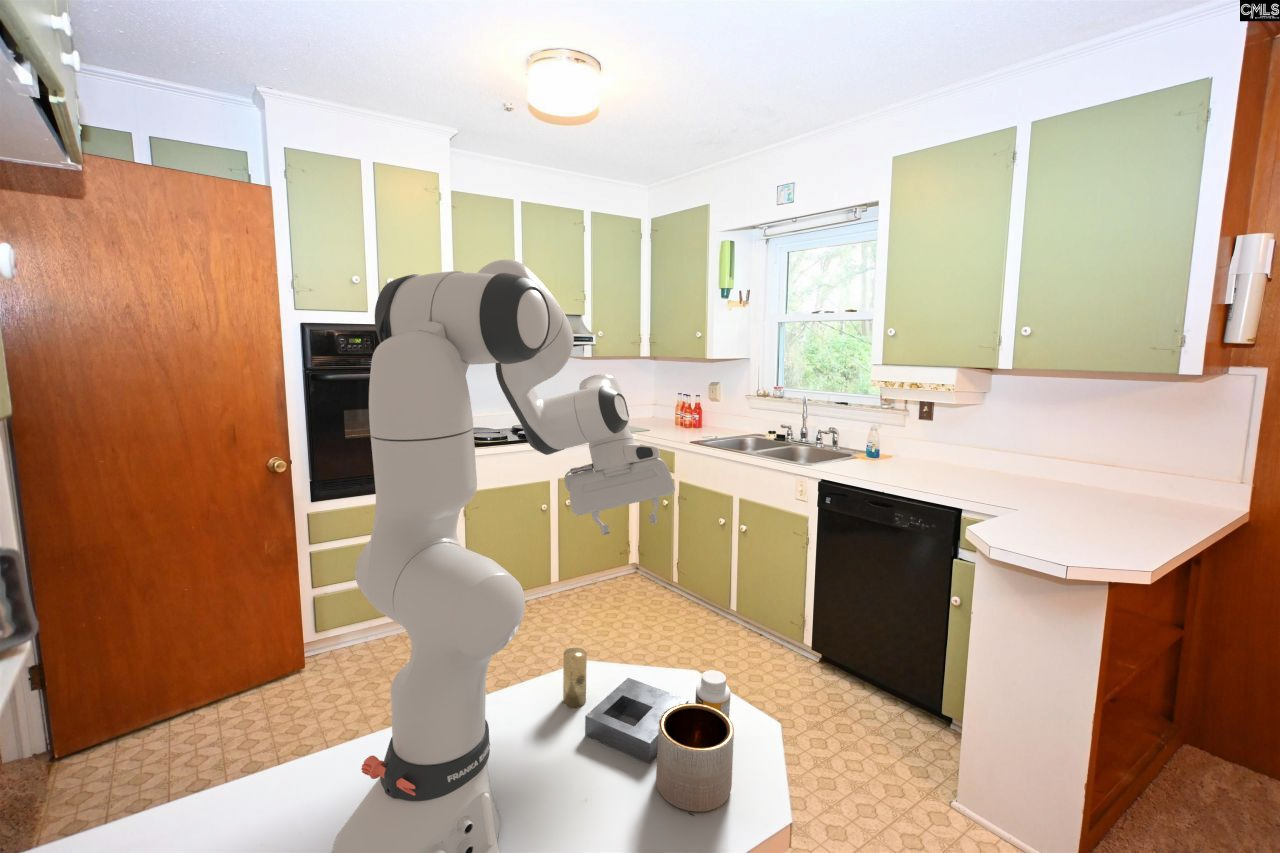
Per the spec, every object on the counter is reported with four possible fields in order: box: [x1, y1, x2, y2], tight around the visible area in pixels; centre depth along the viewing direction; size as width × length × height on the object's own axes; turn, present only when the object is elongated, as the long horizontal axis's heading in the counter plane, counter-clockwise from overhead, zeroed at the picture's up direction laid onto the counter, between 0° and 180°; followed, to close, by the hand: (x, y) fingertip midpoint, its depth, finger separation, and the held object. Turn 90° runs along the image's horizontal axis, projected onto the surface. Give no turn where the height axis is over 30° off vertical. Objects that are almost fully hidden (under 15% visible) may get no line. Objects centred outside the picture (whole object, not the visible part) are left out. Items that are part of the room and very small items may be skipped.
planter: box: [655, 702, 735, 813], centre depth 86 cm, size 11×11×10 cm
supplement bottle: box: [694, 669, 731, 719], centre depth 97 cm, size 6×6×10 cm
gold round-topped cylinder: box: [562, 647, 588, 709], centre depth 105 cm, size 4×4×9 cm
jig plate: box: [584, 677, 689, 765], centre depth 99 cm, size 13×12×4 cm
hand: (630, 528), depth 115 cm, fingers open, 8 cm apart
